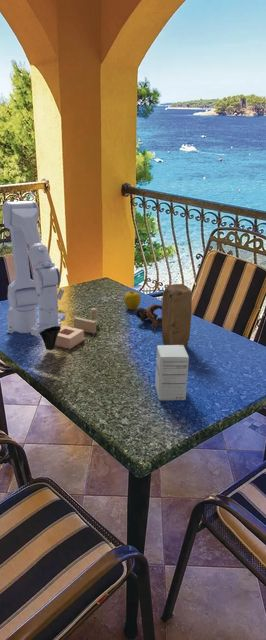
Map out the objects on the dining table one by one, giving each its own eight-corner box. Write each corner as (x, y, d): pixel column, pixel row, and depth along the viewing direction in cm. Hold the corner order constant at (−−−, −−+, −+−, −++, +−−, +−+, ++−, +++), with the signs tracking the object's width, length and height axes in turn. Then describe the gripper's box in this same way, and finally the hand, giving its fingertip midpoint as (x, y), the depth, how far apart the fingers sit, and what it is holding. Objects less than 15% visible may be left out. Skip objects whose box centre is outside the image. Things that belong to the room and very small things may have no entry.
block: (190, 350, 147) (195, 290, 140) (168, 352, 145) (172, 292, 138) (178, 336, 157) (182, 280, 150) (157, 338, 155) (160, 282, 148)
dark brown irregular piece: (163, 319, 173) (170, 305, 167) (162, 338, 167) (169, 324, 161) (132, 311, 172) (139, 296, 166) (130, 330, 165) (137, 315, 159)
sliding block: (49, 343, 146) (48, 333, 145) (63, 335, 153) (63, 325, 152) (70, 348, 143) (69, 338, 142) (83, 339, 150) (83, 330, 148)
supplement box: (154, 386, 125) (156, 344, 120) (181, 386, 125) (184, 344, 121) (157, 401, 118) (160, 356, 113) (186, 400, 118) (189, 356, 114)
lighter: (47, 310, 177) (46, 290, 175) (46, 309, 179) (45, 289, 176) (65, 308, 180) (64, 289, 177) (63, 307, 182) (63, 287, 179)
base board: (39, 345, 147) (39, 331, 145) (71, 327, 162) (70, 314, 160) (76, 355, 141) (76, 340, 140) (105, 335, 156) (105, 321, 155)
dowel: (89, 328, 162) (89, 309, 160) (93, 325, 164) (92, 307, 162) (95, 329, 161) (95, 310, 159) (98, 327, 163) (98, 308, 161)
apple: (121, 307, 183) (121, 288, 180) (135, 305, 185) (136, 286, 183) (128, 312, 177) (128, 293, 175) (142, 310, 180) (143, 291, 177)
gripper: (44, 317, 127) (46, 361, 132) (73, 302, 140) (74, 343, 144) (24, 312, 130) (26, 355, 135) (54, 298, 142) (55, 338, 147)
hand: (50, 349), depth 140 cm, fingers closed
